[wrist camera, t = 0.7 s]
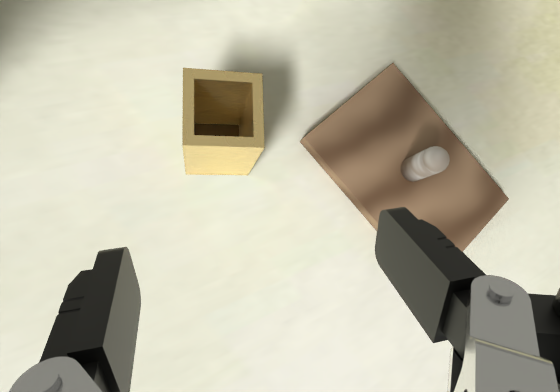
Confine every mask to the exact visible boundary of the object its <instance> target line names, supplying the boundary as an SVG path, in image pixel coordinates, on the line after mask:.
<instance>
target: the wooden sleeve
mask: <svg viewBox="0 0 560 392" xmlns="http://www.w3.org/2000/svg"><path fill="white" fill-rule="evenodd" d="M195 123H200V124H223V125H239V137H234V136H206V135H194V124H195ZM263 149H264V114H263V80H262V74H260V73H247V72H233V71H219V70H206V69H192V68H183V154H184V162H185V171H186V174H195V175H248V174H249V172H250V171H251V169H252V167H253V166H254V164H255V162H256V161H257V159H258V158H259V156H260V154H261V153H262V151H263Z"/></svg>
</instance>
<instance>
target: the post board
mask: <svg viewBox="0 0 560 392" xmlns="http://www.w3.org/2000/svg"><path fill="white" fill-rule="evenodd" d="M300 142H301V144H302V145H303V146H304V147H305V148H306V149H307V150H308V152H309V153H310V154H311V155H312V156H313V157H314V159H315V160H316V161H317V162H318V163H319V164H320V166H321V167H322V168H323V169H324V170H325V171H326V173H327V174H328V175H329V176H330V177H331V178H332V180H333V181H334V182H335V183H336V184H337V185H338V186H339V188H340V189H341V190H342V191H343V192H344V193H345V195H346V196H347V197H348V198H349V199H350V200H351V202H352V203H353V204H354V205H355V206H356V207H357V209H358V210H359V211H360V212H361V213H362V214H363V216H364V217H365V218H366V219H367V220H368V221H369V222H370V224H371V225H372V226H373V227H374V228H375V229H376V231H377V229H378V221H379V215H380V212H381V211H382V210H386V209H393V208H399V207H406V208H407V209H408V210H409V211H410V212H411V213H412V214H413V215H414V216H415V217H416V218H417V219H418V220H420V219H422V220H424V221H426V222H428V223H430V224H432V225H434V226H436V227H437V228H438V229H439V230H440V231H441V232H442V233H443V234H444V235H445V236H446V237H447V239H449V240H450V241H452V242H453V243H454V244H455V247H458V248H459V249H460V250H461V251H462V252H463V251H464V249H465V248H466V247H467V246H468V245H469V244H470V243H471V241H472V240H473V239H474V238H475V237H476V236H477V235H478V233H479V232H480V231H481V230H482V229H483V228H484V227H485V226H486V224H487V223H488V222H489V221H490V220H491V219H492V218H493V216H494V215H495V214H496V213H497V212H498V211H499V210H500V208H501V207H502V206H503V205H504V204H505V203H506V202H507V201H508V199H509V198H508V197H507V196H506V195H505V194H504V192H503V191H502V190H501V189H500V188H499V187H498V185H497V184H496V183H495V182H494V181H493V180H492V178H491V177H490V176H489V175H488V174H487V172H486V171H485V170H484V169H483V168H482V167H481V165H480V164H479V163H478V162H477V161H476V160H475V158H474V157H473V156H472V155H471V154H470V153H469V151H468V150H467V149H466V148H465V147H464V145H463V144H462V143H461V142H460V141H459V140H458V138H457V137H456V136H455V135H454V134H453V133H452V131H451V130H450V129H449V128H448V127H447V125H446V124H445V123H444V122H443V121H442V120H441V118H440V117H439V116H438V115H437V114H436V113H435V111H434V110H433V109H432V108H431V107H430V106H429V104H428V103H427V102H426V101H425V100H424V98H423V97H422V96H421V95H420V94H419V93H418V91H417V90H416V89H415V88H414V87H413V86H412V84H411V83H410V82H409V81H408V80H407V79H406V77H405V76H404V75H403V74H402V73H401V71H400V70H399V69H398V68H397V67H396V66H395V64H394V63H392V64H391V65H390V66H389V67H387V68H386V69H385V70H384V71H383V72H381V73H380V74H379V75H378V76H377V77H375V78H374V79H373V80H372V81H371V82H369V83H368V84H367V85H366V86H365V87H363V88H362V89H361V90H360V91H359V92H357V93H356V94H355V95H354V96H353V97H351V98H350V99H349V100H348V101H347V102H345V103H344V104H343V105H342V106H341V107H339V108H338V109H337V110H336V111H335V112H333V113H332V114H331V115H330V116H329V117H327V118H326V119H325V120H324V121H323V122H321V123H320V124H319V125H318V126H317V127H315V128H314V129H313V130H312V131H311V132H309V133H308V134H307V135H306V136H305V137H304V138H303V139H302V140H301V141H300Z"/></svg>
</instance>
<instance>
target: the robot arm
mask: <svg viewBox="0 0 560 392" xmlns="http://www.w3.org/2000/svg"><path fill="white" fill-rule="evenodd" d="M375 254H376V259H377V261H378V264H379V266H380V267H381V269H382V270H383V271H384V273H385V274H386V276H387V277H388V279H389V280H390V282H391V283H392V284H393V286H394V287H395V289H396V290H397V292H398V293H399V295H400V296H401V297H402V299H403V300H404V302H405V303H406V305H407V306H408V307H409V309H410V310H411V312H412V313H413V315H414V316H415V318H416V319H417V320H418V322H419V323H420V325H421V326H422V328H423V329H424V331H425V332H426V333H427V335H428V336H429V338H430V339H431V341H432V342H433V343H436V342H440V341H445V340H449V342H450V343H451V344H452V348H451V351H450V361H449V374H448V387H447V392H560V289H559V291H558V293H557V295H556V296H554V295H540V294H527V292H526V291H525V290H524V289H523V288H522V287H520V286H519V285H518V284H516V283H514V282H512V281H510V280H508V279H505V278H502V277H499V276H493V275H486V274H485V273H484V272H483V271H482V270H480V269H479V268H478V267H477V266H476V265H475V264H474V263H473V262H472V261H471V260H470V259H469V258H468V257H467V256H466V255H465V254H464V253H463V252H462V251H461V250H460V249H459V248H458V247H455V244H454V243H453V242H452V241H450V240H449V239H447V237H446V236H445V235H444V234H443V233H442V232H441V231H440V230H439V229H438V228H437V227H436V226H434V225H432V224H430V223H428V222H426V221H424V220H422V219H420V220H418V219H417V218H416V217H415V216H414V215H413V214H412V213H411V212H410V211H409V210H408V209H407V208H406V207H399V208H393V209H386V210H382V211H381V212H380V215H379V221H378V229H377V236H376V244H375ZM140 307H141V296H140V288H139V284H138V280H137V277H136V273H135V270H134V266H133V263H132V259H131V256H130V252H129V250H128V248H127V247H122V248H116V249H109V250H102V251H99V252H98V254H97V257H96V261H95V264H94V267H93V269H92V270H85V271H81V272H80V273H79V274H78V275H77V276H76V277H75V278H74V280H73V281H72V282H71V283H70V284H69V285H68V288H67V290H66V293H65V296H64V298H63V302H62V304H61V306H60V309H59V315H57V317H56V320H55V322H54V325H53V327H52V330H51V333H50V335H49V338H48V341H47V343H46V346H45V349H44V351H43V354H42V357H41V359H40V362H39V363H38V364H36V365H34V366H33V367H31V368H30V369H28V370H27V371H26V372H25V373H23V374H22V375H21V376H20V377H19V378H18V379H17V380H16V382H15V383H14V384H13V386H12V388H11V389H10V391H9V392H130V384H131V377H132V369H133V361H134V354H135V346H136V338H137V331H138V323H139V315H140Z"/></svg>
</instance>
